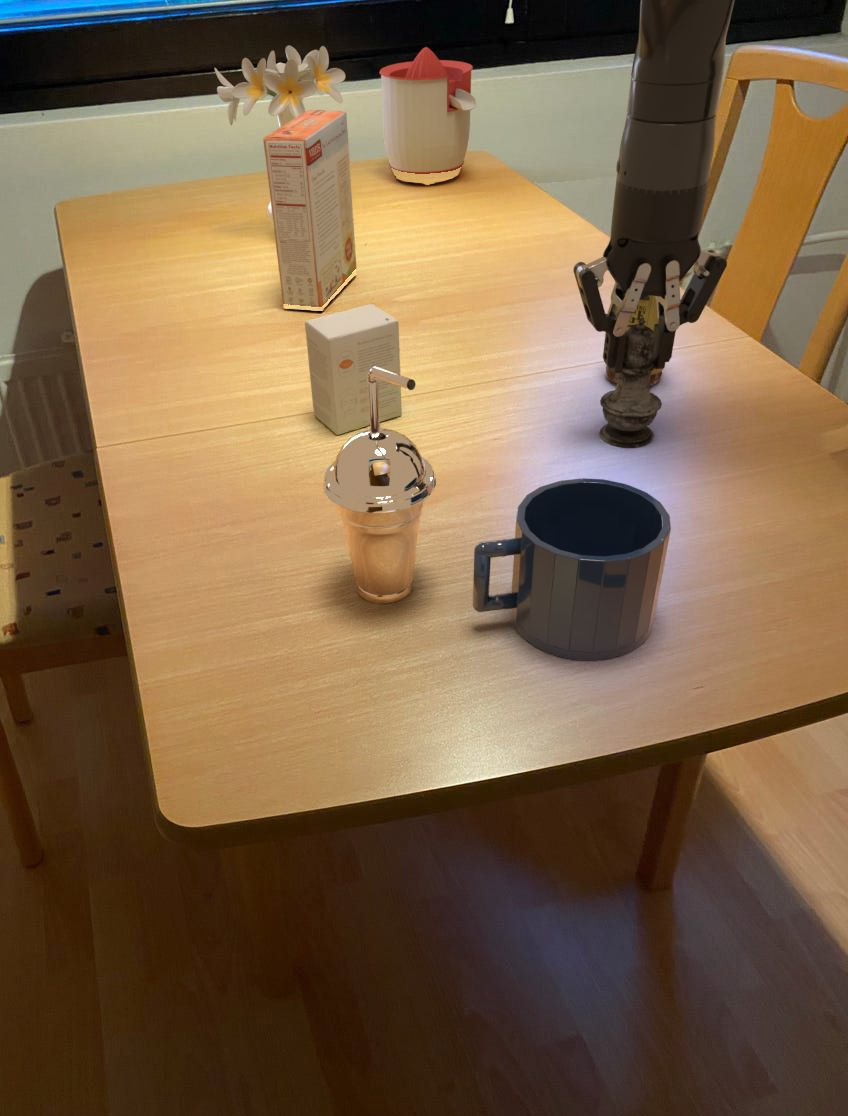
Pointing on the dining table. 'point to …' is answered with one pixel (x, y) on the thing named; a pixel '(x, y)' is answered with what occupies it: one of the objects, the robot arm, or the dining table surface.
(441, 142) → the citrus juicer
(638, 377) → the salt shaker
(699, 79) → the robot arm
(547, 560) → the mug
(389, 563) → the cup with straw
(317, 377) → the small box
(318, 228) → the cracker box
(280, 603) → the dining table surface
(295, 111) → the flower vase
